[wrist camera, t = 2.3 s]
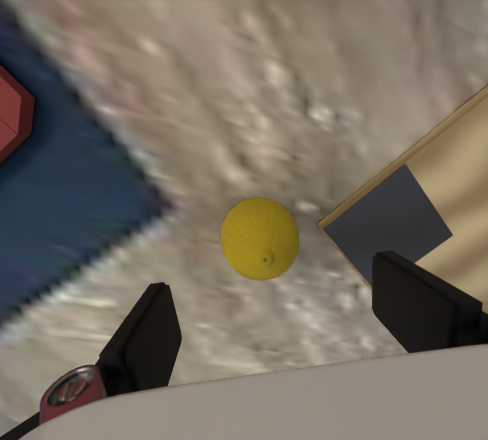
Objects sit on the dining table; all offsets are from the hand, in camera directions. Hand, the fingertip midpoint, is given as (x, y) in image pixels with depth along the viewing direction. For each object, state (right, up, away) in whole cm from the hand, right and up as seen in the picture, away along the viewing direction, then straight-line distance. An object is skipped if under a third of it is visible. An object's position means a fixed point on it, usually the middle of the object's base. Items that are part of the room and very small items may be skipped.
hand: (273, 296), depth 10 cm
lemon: (0, +3, +10) cm, 11 cm away
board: (+19, +1, +11) cm, 22 cm away
